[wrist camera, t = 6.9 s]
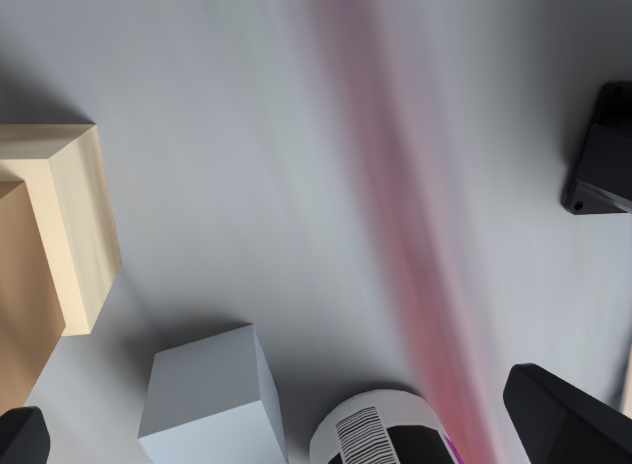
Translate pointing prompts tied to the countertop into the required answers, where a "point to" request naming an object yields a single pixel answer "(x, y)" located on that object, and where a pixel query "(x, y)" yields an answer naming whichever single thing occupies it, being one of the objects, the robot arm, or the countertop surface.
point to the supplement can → (382, 432)
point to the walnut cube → (24, 298)
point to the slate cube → (213, 404)
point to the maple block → (67, 211)
